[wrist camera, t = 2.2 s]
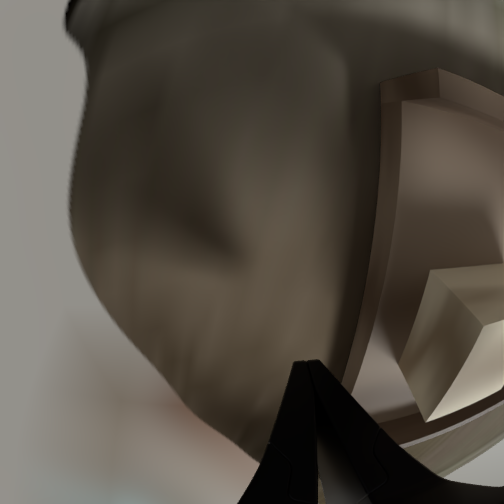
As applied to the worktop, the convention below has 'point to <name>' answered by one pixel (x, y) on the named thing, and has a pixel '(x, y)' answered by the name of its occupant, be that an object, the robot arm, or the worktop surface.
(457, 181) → the trap box
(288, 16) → the worktop surface
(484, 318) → the maple block
